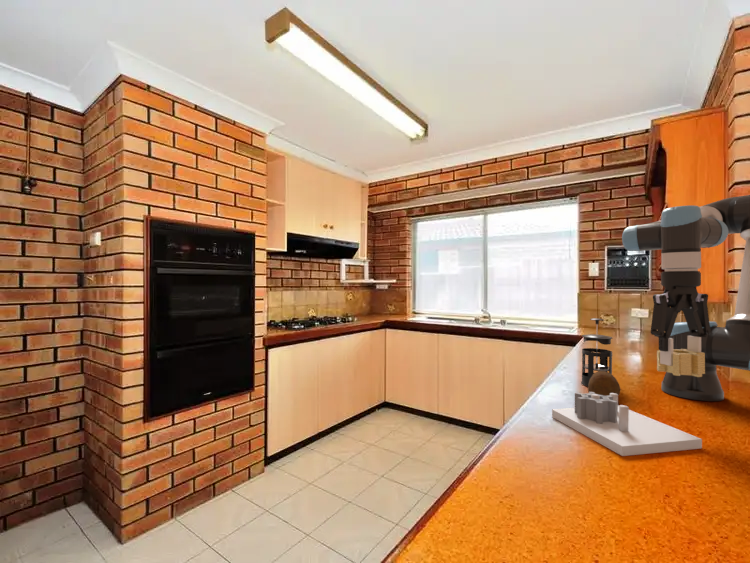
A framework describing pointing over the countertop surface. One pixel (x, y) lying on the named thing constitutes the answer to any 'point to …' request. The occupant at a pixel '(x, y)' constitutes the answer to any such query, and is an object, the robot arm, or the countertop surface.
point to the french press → (591, 353)
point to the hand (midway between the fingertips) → (680, 363)
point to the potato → (603, 384)
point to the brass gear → (684, 363)
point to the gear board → (636, 435)
